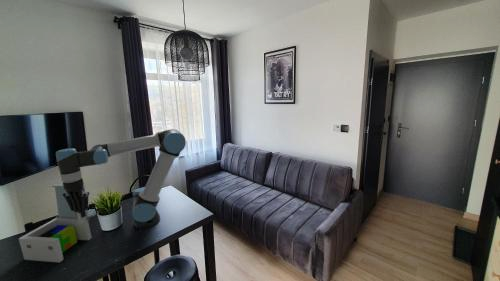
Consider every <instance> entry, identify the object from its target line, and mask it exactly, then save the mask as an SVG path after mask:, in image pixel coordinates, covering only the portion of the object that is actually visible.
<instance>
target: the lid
mask: <svg viewBox="0 0 500 281" xmlns="http://www.w3.org/2000/svg"><path fill="white" fill-rule="evenodd" d="M51 187H52V188H54V191H55V198H56V199H55V200H56V206H57V207H56V208H57V212H58V214H57V215H59V218H72V219H78V217H77V215H76V212H74V211H71V209H70V207H69V205H68V203H67V201H66V199H65V198H64V196H63V195H62V194H64V193H66V190H65V189H64V187H63V184H52V186H51ZM85 188H86V187H85V184H84V185H83V189H84V191H85V192H86V189H85ZM85 214H86V216H85V217H86V219H87V217H88V213H87V210H85Z"/></svg>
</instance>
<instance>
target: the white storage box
mask: <svg viewBox="0 0 500 281" xmlns="http://www.w3.org/2000/svg"><path fill="white" fill-rule="evenodd" d="M90 220H91V217H90V216H88V217H87V219H86V222H84V223H83V224H79V221H78V219H75V218H59V214H57V215H56V217H55V218H53V219H51V220H50V221H48V222H46V223H45V224H43V225H40V226H39V227H37V228H35V229H33V230H31V231H30V232H28V233H26V234H25V235H21V236H20V237H19V238H18V242H19V246H20V250H21V252H22V256H23V259H24V260H26V261H34V262H35V261H37V262H38V261H39V262H49V263H50V262H51V263H61V262H63V260H64V255H63V253H62V250H61V246H60V241H59V238H48V237H39V236H40V235H42V234H44V233H46V232H47V231H49V230H51V229H52V228H54V227H56V226H58V225H62V226H74V229H75V233H76V238H77V241H78V240H80V241H89V240H91V239H92V233H91V229H90V228H91V227H90V224H89V221H90Z"/></svg>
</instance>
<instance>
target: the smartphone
mask: <svg viewBox="0 0 500 281" xmlns="http://www.w3.org/2000/svg"><path fill="white" fill-rule="evenodd" d="M87 213H88V216H90V218H91V217H94V216H96V214H97V213H96V211H95V209H89V210H87Z"/></svg>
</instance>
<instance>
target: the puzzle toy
mask: <svg viewBox="0 0 500 281" xmlns="http://www.w3.org/2000/svg"><path fill="white" fill-rule="evenodd" d="M39 237H48V238H59V241H60V246H61V250H62V254H63V253H64V252H66V251H67V250H68V249H70V248H71V247H73V246H74V245H75V244H77V243H78V240H77V238H76V233H75V229H74V226H62V225H58V226H56V227H54V228H52V229H51V230H49V231H47V232H46V233H44V234H42V235H40V236H39Z"/></svg>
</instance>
